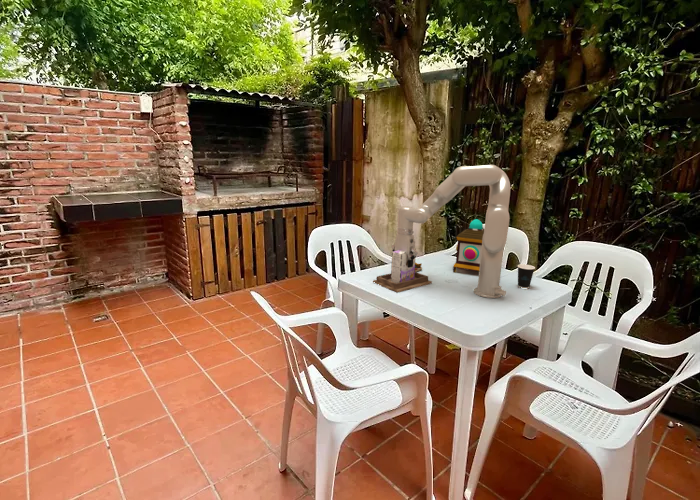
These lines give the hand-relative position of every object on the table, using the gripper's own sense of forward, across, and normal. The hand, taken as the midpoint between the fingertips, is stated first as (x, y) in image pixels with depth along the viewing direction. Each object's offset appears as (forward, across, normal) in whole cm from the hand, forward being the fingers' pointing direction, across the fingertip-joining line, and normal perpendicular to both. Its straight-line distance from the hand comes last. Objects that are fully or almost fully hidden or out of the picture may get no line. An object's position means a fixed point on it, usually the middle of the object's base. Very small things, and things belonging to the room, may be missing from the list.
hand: (403, 264), depth 187 cm
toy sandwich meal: (+10, +16, -21) cm, 28 cm away
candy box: (+9, 0, 0) cm, 9 cm away
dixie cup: (+10, -39, -46) cm, 61 cm away
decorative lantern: (+10, -7, -48) cm, 50 cm away
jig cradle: (+10, 0, 0) cm, 10 cm away
